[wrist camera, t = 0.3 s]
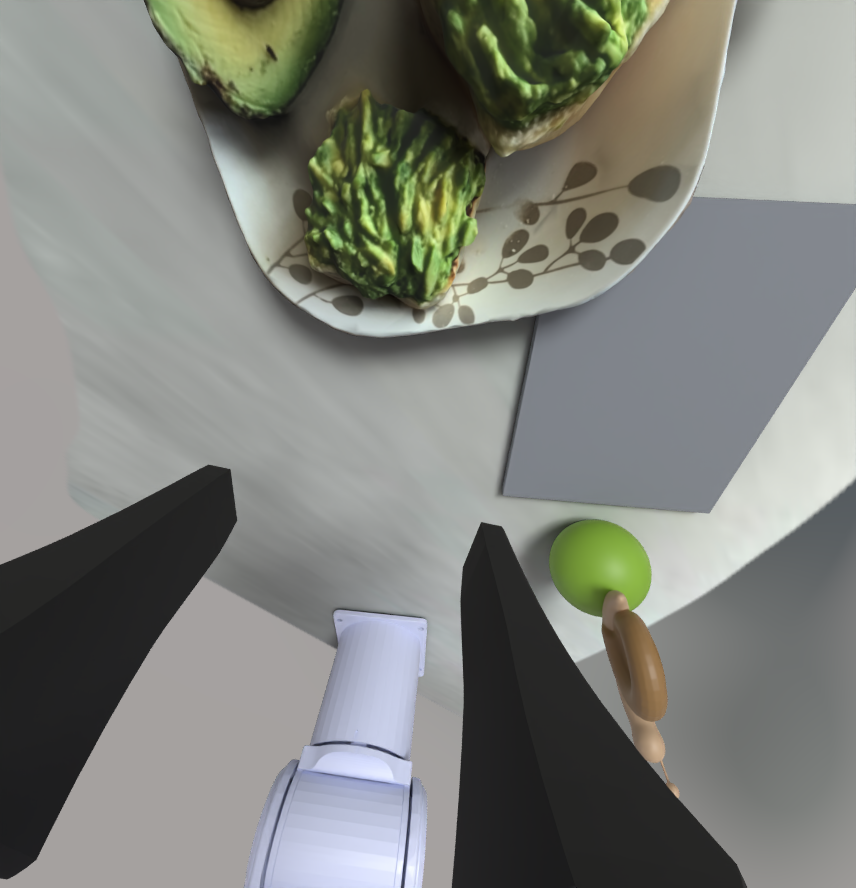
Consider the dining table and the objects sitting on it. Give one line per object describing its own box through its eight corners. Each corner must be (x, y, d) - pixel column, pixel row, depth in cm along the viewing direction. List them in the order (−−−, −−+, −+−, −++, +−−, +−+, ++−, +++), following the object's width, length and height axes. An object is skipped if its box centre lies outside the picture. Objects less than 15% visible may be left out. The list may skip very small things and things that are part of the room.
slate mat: (703, 506, 22) (709, 513, 21) (501, 489, 22) (502, 495, 22) (891, 206, 13) (908, 206, 13) (561, 191, 14) (565, 191, 13)
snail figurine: (547, 572, 26) (598, 799, 16) (537, 507, 23) (594, 742, 13) (628, 563, 25) (738, 803, 15) (630, 494, 22) (772, 742, 12)
